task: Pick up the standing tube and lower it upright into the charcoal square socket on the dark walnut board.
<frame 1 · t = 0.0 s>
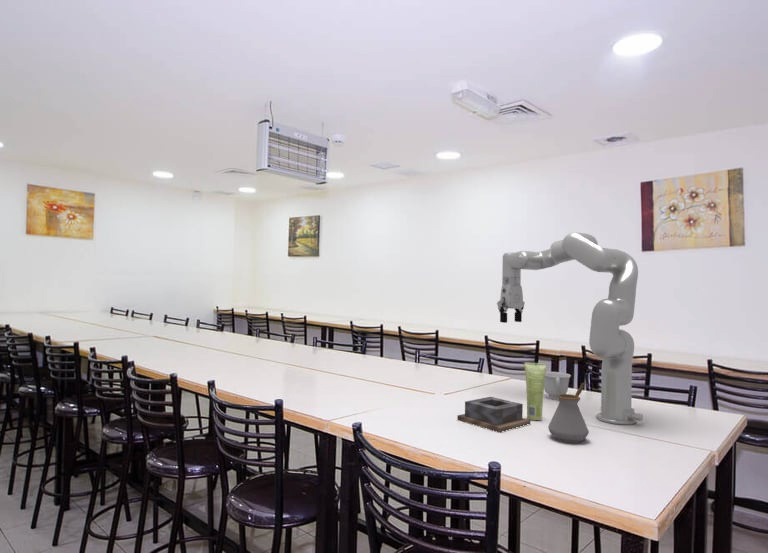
hand: (510, 322, 206), 31 cm above the table, tool pointing down, fingers open, 9 cm apart
teacup: (555, 399, 202), on the table
socket board: (493, 422, 164), on the table
tube: (535, 419, 169), on the table
coffee pot: (573, 435, 151), on the table
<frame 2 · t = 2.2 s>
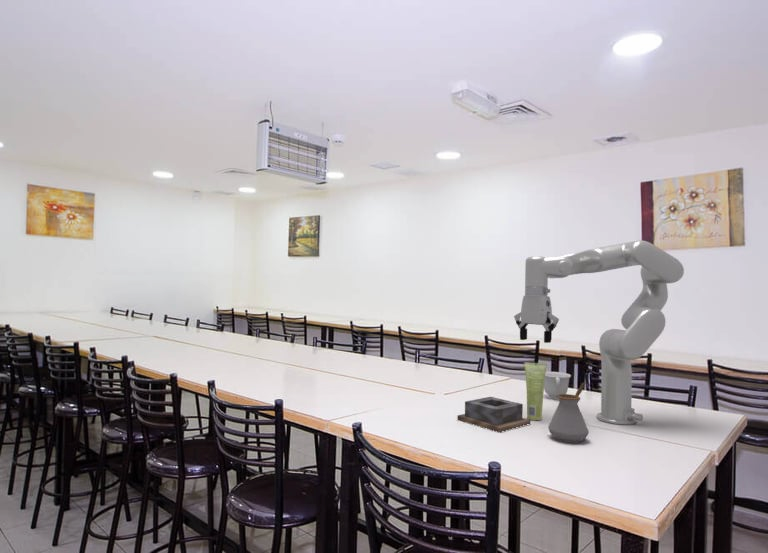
hand: (535, 341, 170), 27 cm above the table, tool pointing down, fingers open, 9 cm apart
nothing on the table moved.
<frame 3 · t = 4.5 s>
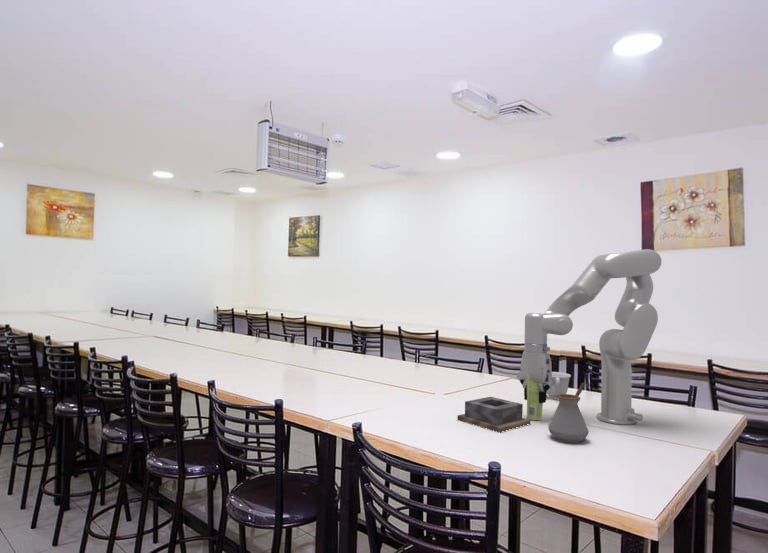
hand: (535, 400, 169), 6 cm above the table, tool pointing down, fingers closed on tube, 5 cm apart
tube: (535, 419, 169), on the table, touching gripper
everything else where it was.
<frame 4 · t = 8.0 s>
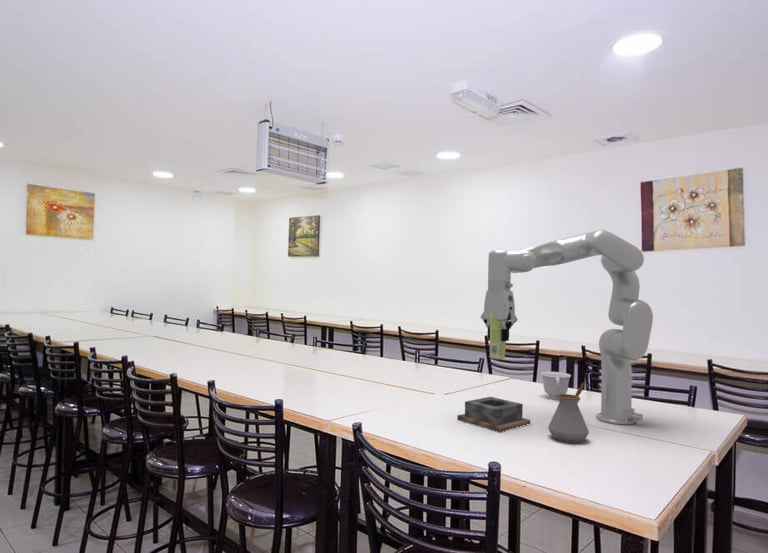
hand: (498, 339, 165), 28 cm above the table, tool pointing down, fingers closed on tube, 5 cm apart
tube: (497, 359, 165), point 21 cm above the table, touching gripper
everything else where it was.
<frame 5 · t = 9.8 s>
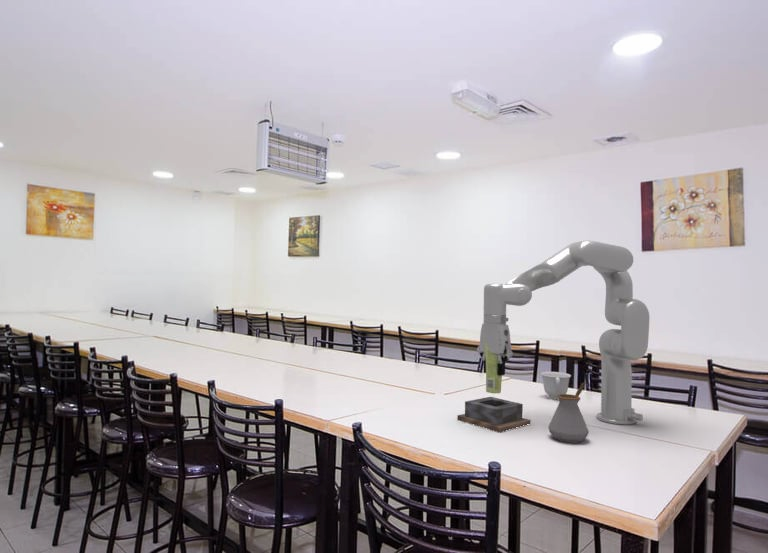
hand: (494, 373, 165), 16 cm above the table, tool pointing down, fingers closed on tube, 5 cm apart
tube: (494, 392, 165), point 10 cm above the table, touching gripper
everything else where it was.
when the fingers open (10 cm above the table, at t = 11.6 s): tube drops 2 cm, resting on socket board.
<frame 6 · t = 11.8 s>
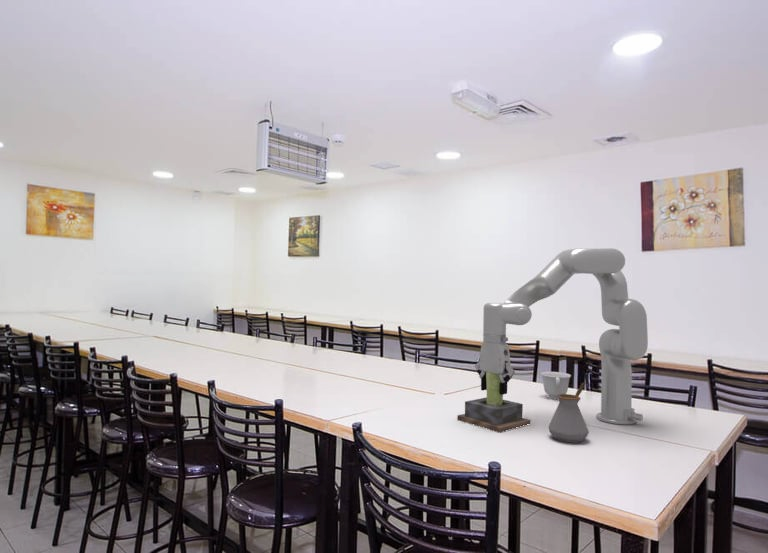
hand: (493, 391, 165), 10 cm above the table, tool pointing down, fingers open, 7 cm apart
tube: (494, 418, 164), point 1 cm above the table, touching socket board
everything else where it was.
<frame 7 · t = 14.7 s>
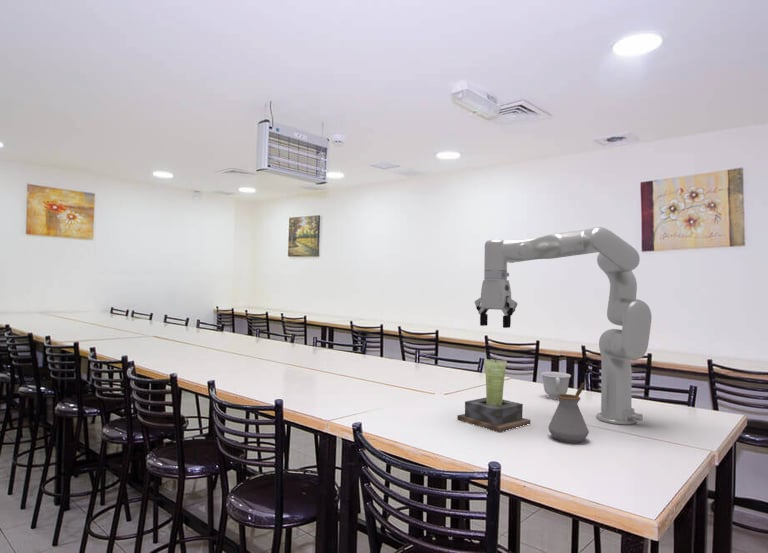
hand: (494, 326, 165), 32 cm above the table, tool pointing down, fingers open, 9 cm apart
nothing on the table moved.
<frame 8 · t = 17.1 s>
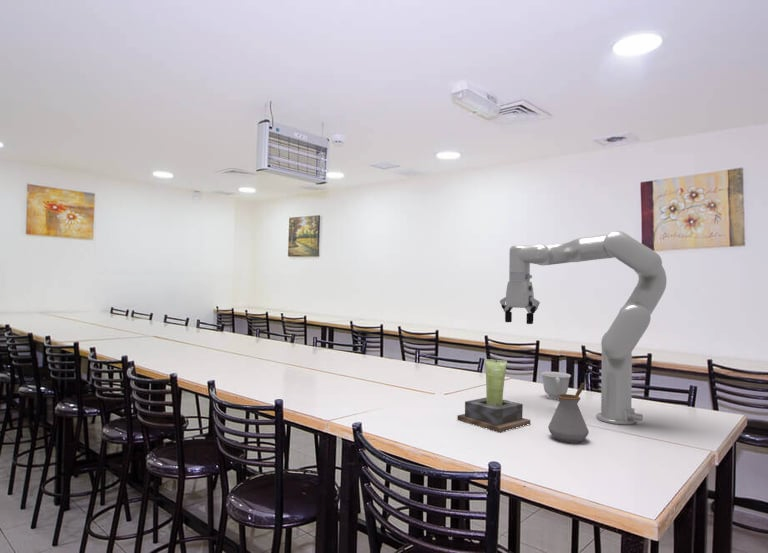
hand: (518, 323, 185), 32 cm above the table, tool pointing down, fingers open, 9 cm apart
nothing on the table moved.
at the end: tube 0.4 cm off-centre on the socket board, point 1.3 cm above the socket board's base; tube tilted 1°; the gripper is holding nothing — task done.
